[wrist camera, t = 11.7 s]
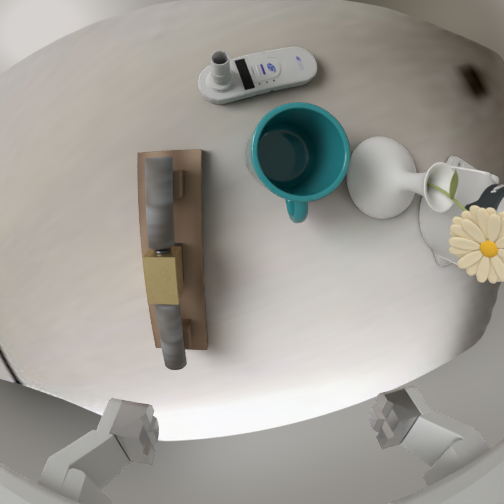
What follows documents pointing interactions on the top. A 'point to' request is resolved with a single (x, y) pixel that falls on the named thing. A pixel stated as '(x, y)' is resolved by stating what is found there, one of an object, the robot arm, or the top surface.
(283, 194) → the cup
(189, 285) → the shaft bench
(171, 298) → the block
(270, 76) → the electronic device
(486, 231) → the flower in vase
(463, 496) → the robot arm
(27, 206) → the top surface
